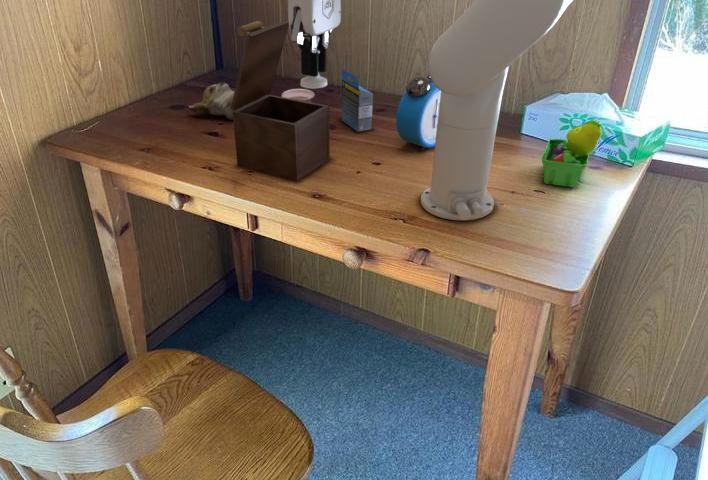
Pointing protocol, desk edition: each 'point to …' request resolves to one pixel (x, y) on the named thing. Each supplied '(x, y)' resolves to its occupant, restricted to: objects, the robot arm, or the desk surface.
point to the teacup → (299, 94)
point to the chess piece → (314, 81)
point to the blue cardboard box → (356, 103)
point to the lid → (258, 61)
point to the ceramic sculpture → (216, 101)
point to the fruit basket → (570, 154)
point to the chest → (282, 136)
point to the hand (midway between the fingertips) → (314, 72)
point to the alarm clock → (419, 112)
